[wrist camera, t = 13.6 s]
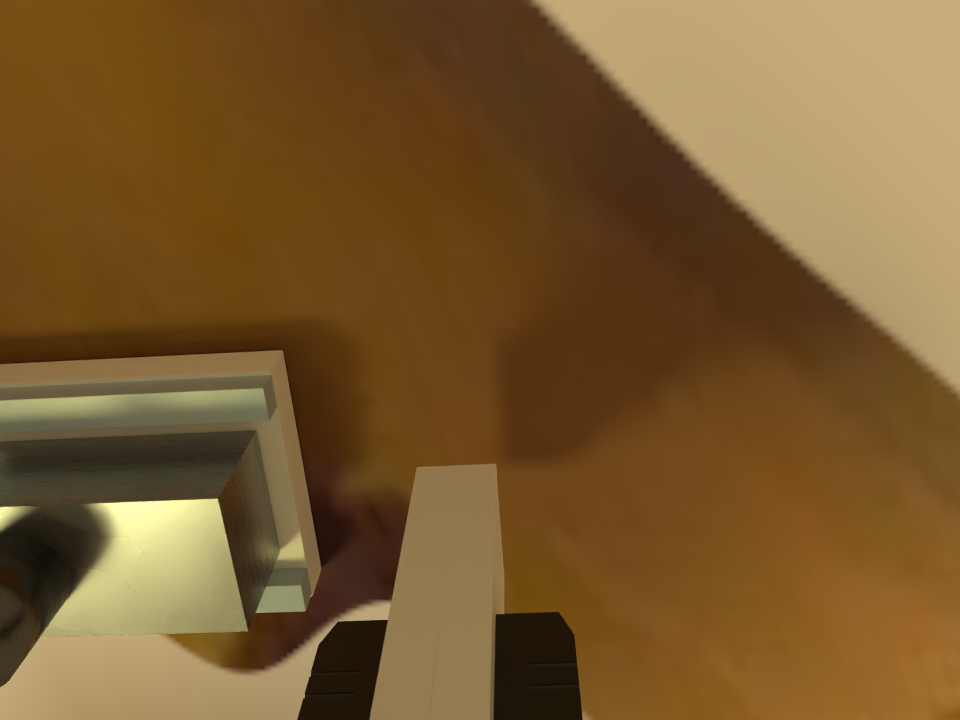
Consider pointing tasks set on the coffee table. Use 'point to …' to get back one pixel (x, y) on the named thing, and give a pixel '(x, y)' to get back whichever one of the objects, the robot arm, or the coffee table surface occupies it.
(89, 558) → the bar
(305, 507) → the dock station
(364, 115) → the coffee table surface
